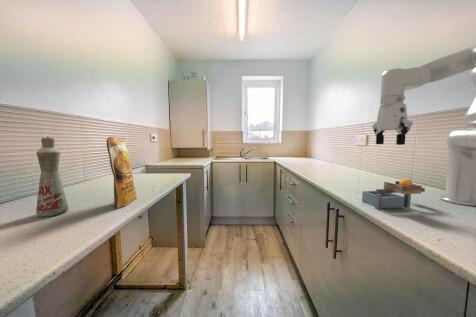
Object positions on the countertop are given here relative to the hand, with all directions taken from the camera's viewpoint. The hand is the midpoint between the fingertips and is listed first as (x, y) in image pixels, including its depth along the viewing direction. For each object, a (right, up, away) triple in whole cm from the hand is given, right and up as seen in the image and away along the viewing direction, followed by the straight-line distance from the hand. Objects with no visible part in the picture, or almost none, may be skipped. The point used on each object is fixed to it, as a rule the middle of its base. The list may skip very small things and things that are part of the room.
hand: (389, 144), depth 83 cm
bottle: (-130, -26, -9) cm, 133 cm away
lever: (+2, -19, -3) cm, 19 cm away
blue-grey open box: (-3, -25, +1) cm, 25 cm away
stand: (-2, -25, -4) cm, 26 cm away
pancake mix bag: (-111, -25, +4) cm, 114 cm away
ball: (-2, -15, -10) cm, 18 cm away
